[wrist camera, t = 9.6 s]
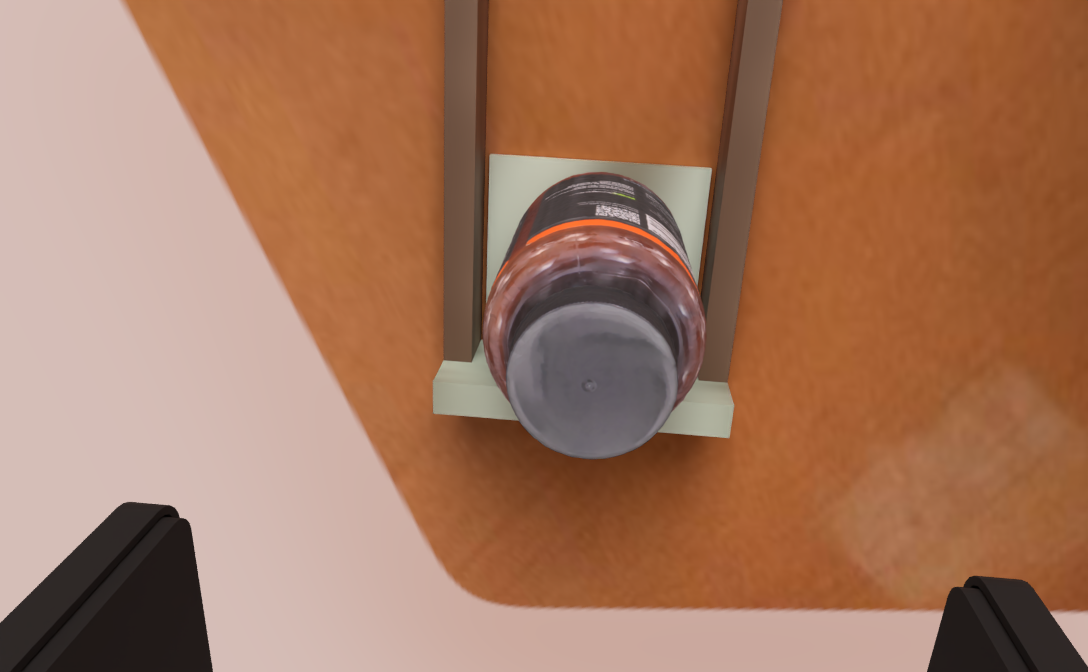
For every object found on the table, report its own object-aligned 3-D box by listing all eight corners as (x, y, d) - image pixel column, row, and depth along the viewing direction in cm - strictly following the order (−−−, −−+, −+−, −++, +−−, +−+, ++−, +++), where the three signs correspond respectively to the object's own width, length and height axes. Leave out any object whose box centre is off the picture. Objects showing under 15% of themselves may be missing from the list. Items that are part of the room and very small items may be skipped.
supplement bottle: (547, 348, 31) (509, 523, 20) (491, 198, 29) (417, 306, 18) (703, 303, 29) (749, 464, 19) (656, 143, 28) (678, 225, 17)
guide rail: (783, -94, 25) (812, -112, 21) (716, 386, 31) (729, 438, 27) (459, -108, 26) (432, -128, 22) (454, 366, 32) (433, 413, 28)
